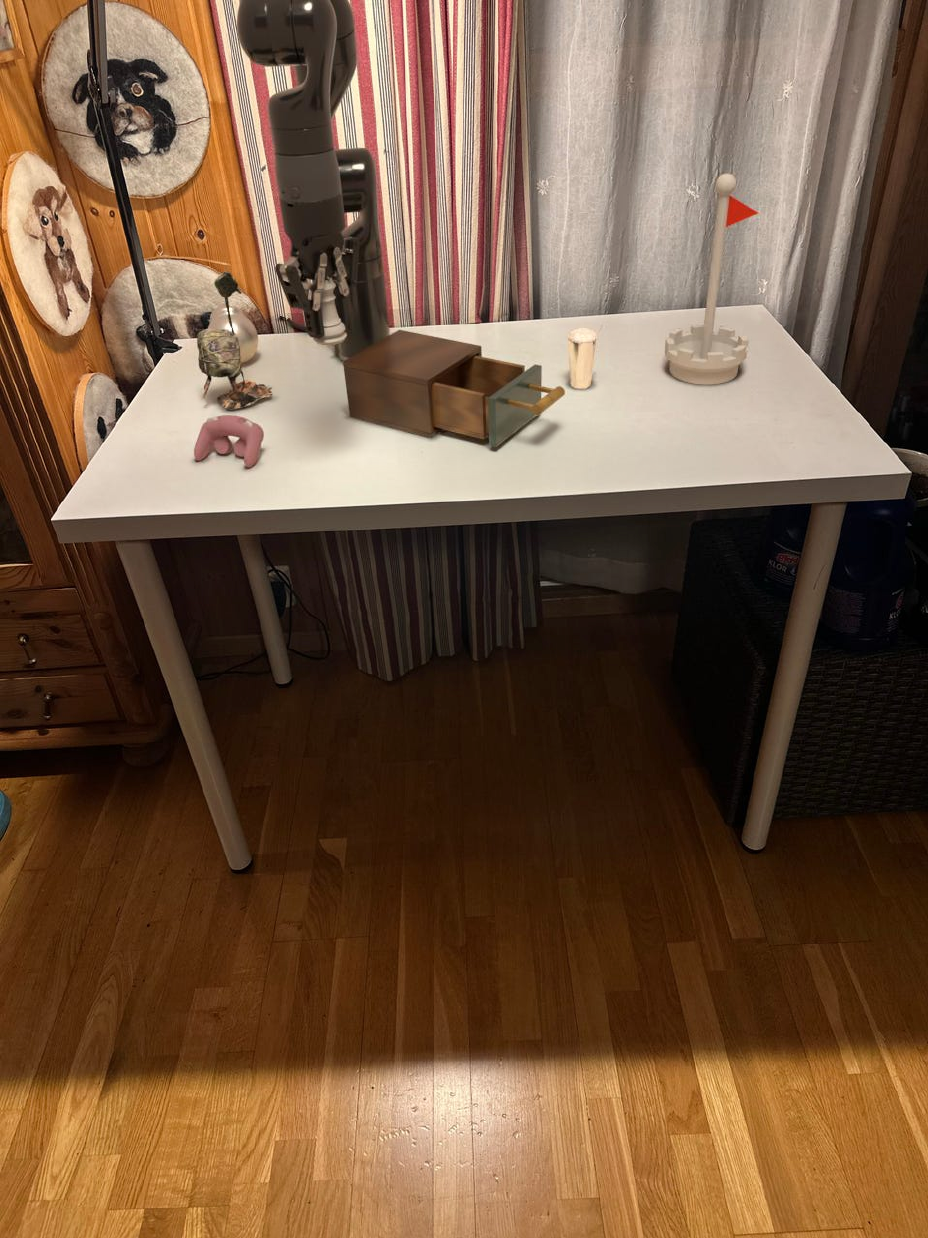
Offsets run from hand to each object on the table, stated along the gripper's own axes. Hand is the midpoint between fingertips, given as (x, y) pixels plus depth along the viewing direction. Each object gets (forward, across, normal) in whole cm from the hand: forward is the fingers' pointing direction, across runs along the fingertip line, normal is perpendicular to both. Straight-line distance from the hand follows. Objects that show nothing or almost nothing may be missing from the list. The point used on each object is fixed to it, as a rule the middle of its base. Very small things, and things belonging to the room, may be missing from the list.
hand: (328, 329), depth 121 cm
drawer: (+19, -19, +13) cm, 30 cm away
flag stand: (+20, -53, +33) cm, 66 cm away
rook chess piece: (+1, 0, 0) cm, 1 cm away
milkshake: (+20, -39, +18) cm, 47 cm away
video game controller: (+20, +7, -16) cm, 26 cm away
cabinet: (+20, -19, -1) cm, 27 cm away
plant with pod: (+20, -8, -29) cm, 36 cm away
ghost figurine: (+20, -20, -41) cm, 50 cm away
